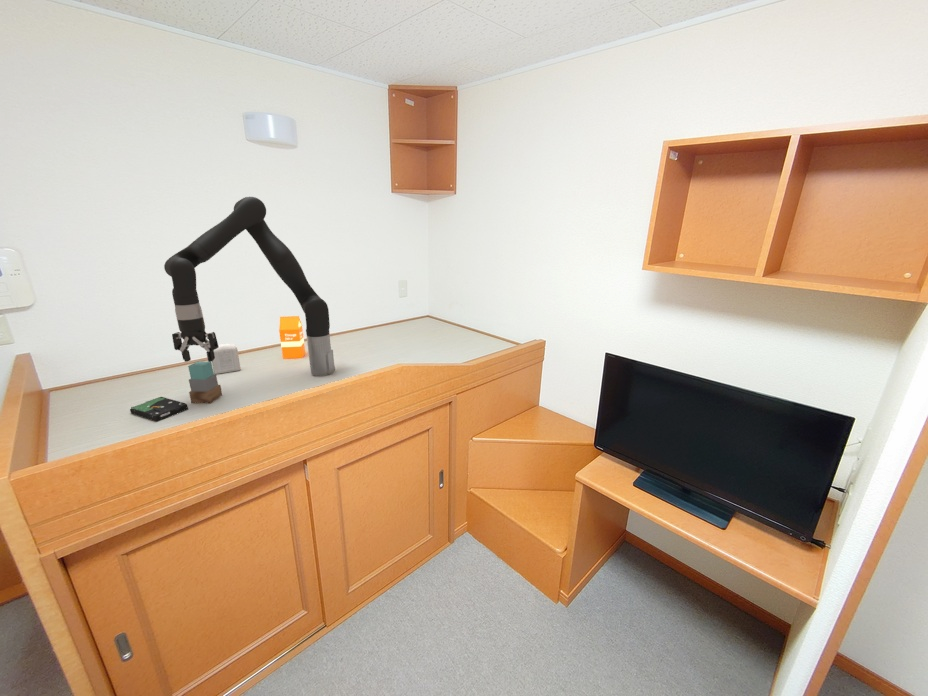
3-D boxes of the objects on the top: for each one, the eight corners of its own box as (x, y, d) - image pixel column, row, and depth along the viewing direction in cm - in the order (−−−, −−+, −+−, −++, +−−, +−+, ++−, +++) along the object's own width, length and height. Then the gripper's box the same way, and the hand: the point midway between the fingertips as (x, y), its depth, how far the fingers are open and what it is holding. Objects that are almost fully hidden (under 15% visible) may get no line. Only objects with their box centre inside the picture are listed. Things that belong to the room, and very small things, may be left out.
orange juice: (302, 358, 190) (297, 317, 184) (282, 359, 189) (277, 318, 183) (305, 353, 198) (300, 314, 192) (287, 354, 196) (281, 315, 190)
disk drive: (189, 410, 137) (162, 402, 143) (187, 403, 136) (160, 395, 142) (157, 423, 128) (130, 414, 134) (155, 415, 127) (128, 407, 133)
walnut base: (222, 395, 148) (220, 384, 147) (210, 403, 141) (208, 392, 140) (204, 395, 148) (201, 384, 147) (191, 403, 142) (189, 391, 140)
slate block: (218, 385, 146) (215, 373, 145) (207, 391, 141) (205, 379, 139) (202, 385, 146) (199, 373, 145) (191, 391, 141) (188, 379, 139)
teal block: (213, 374, 145) (211, 361, 143) (204, 379, 140) (202, 366, 138) (200, 374, 145) (197, 361, 143) (191, 379, 140) (188, 366, 138)
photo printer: (240, 367, 177) (235, 341, 173) (241, 370, 174) (236, 343, 170) (213, 372, 172) (208, 345, 168) (214, 375, 168) (208, 347, 165)
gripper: (217, 314, 139) (225, 357, 144) (177, 314, 139) (187, 357, 144) (203, 319, 132) (212, 364, 136) (161, 319, 132) (172, 364, 137)
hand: (199, 360), depth 140 cm, fingers open, 8 cm apart
